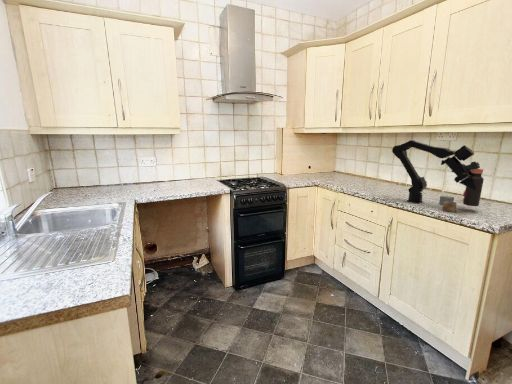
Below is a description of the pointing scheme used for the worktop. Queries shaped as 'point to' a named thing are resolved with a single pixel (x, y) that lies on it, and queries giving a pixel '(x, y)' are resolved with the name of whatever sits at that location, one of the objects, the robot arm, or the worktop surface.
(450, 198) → the slate cube
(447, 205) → the walnut cube
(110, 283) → the worktop surface
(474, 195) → the vinegar
